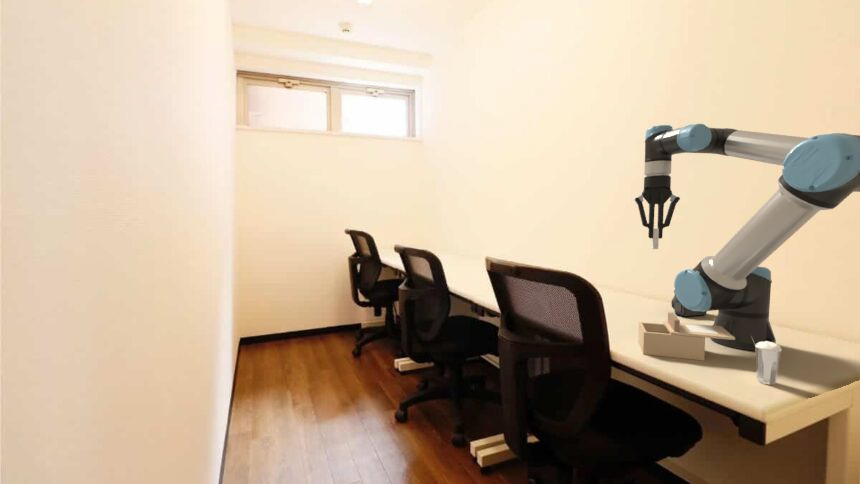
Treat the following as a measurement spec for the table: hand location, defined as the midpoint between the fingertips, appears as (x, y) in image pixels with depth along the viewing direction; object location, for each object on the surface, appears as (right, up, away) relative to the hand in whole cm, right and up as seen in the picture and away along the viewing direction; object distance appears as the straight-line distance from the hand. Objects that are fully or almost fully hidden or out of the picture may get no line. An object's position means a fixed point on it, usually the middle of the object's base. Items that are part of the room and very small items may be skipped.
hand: (654, 248), depth 131 cm
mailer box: (-7, -28, -20) cm, 35 cm away
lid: (-1, -22, -23) cm, 32 cm away
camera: (+23, -25, +19) cm, 39 cm away
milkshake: (+2, -30, -40) cm, 50 cm away
